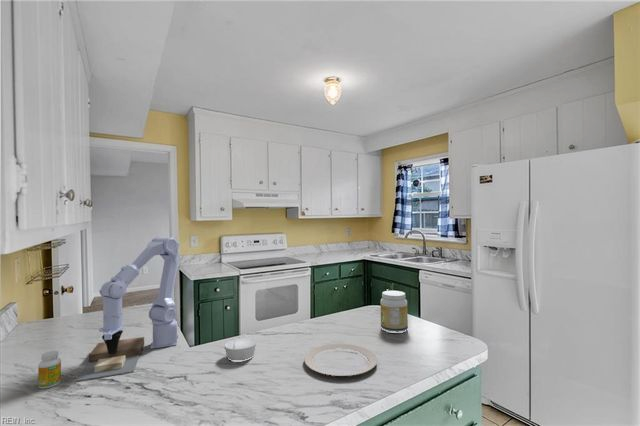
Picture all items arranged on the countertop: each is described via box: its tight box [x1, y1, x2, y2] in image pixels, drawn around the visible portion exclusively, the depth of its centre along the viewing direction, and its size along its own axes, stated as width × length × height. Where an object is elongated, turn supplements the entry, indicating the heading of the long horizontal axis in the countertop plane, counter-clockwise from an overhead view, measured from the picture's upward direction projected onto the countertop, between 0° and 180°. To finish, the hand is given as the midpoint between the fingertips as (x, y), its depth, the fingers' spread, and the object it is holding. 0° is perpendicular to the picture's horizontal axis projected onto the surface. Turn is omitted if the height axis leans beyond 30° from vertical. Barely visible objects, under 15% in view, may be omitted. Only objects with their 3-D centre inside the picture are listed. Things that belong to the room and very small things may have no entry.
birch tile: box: [94, 356, 125, 373], centre depth 109 cm, size 8×6×2 cm
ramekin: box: [224, 337, 257, 360], centre depth 117 cm, size 11×11×5 cm
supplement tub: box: [379, 290, 409, 332], centre depth 144 cm, size 12×12×17 cm
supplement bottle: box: [37, 350, 62, 389], centre depth 99 cm, size 5×5×10 cm
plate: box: [304, 343, 378, 377], centre depth 111 cm, size 26×26×2 cm
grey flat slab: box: [75, 354, 141, 383], centre depth 109 cm, size 16×14×1 cm
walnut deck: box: [88, 336, 145, 363], centre depth 122 cm, size 16×12×3 cm
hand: (112, 353), depth 113 cm, fingers closed
